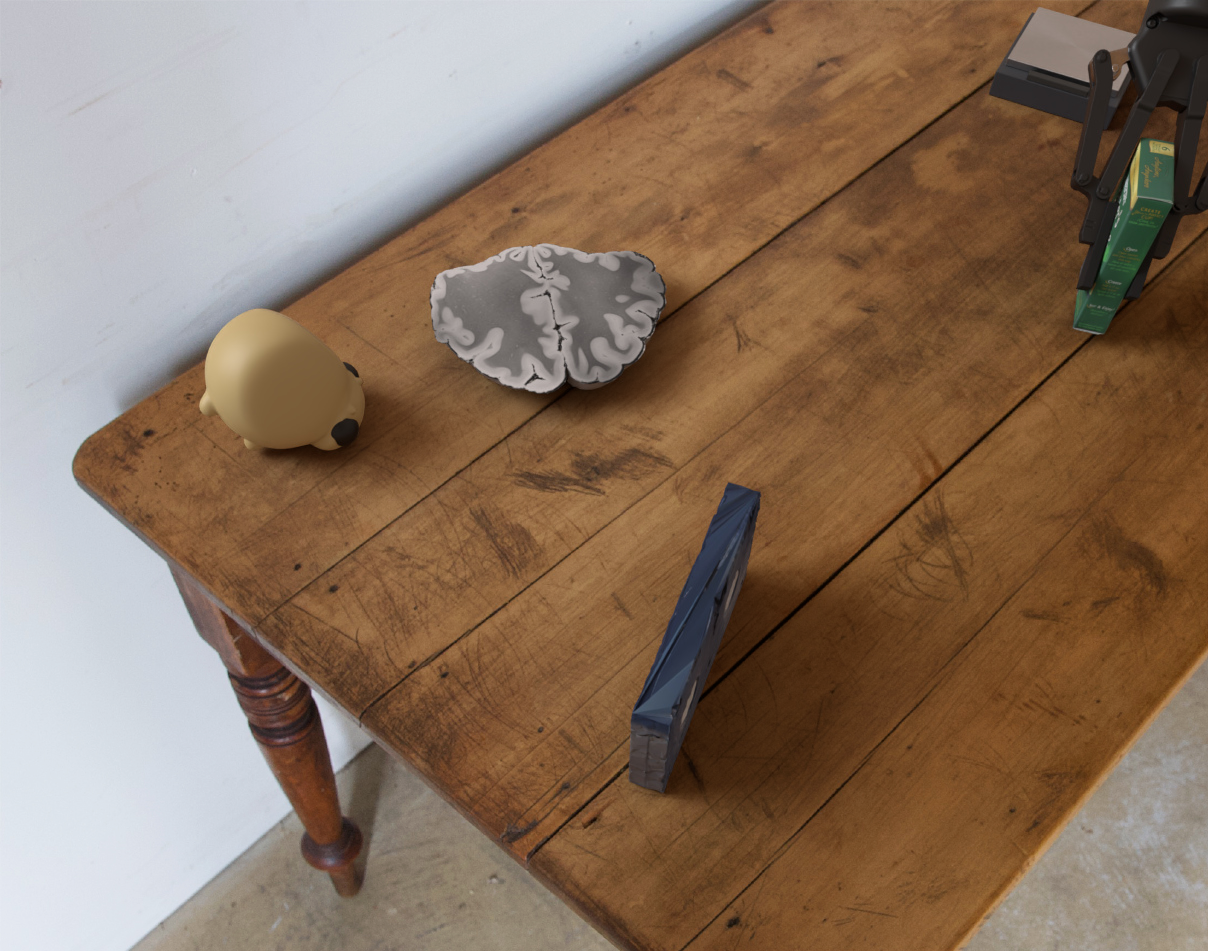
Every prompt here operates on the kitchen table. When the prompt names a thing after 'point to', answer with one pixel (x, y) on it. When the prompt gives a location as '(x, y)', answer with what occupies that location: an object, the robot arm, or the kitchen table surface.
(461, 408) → the kitchen table surface
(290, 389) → the toy pig
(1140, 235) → the coffee box
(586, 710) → the kitchen table surface
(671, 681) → the vhs cassette tape
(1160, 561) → the kitchen table surface
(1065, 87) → the scale
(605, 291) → the brain slice
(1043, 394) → the kitchen table surface
